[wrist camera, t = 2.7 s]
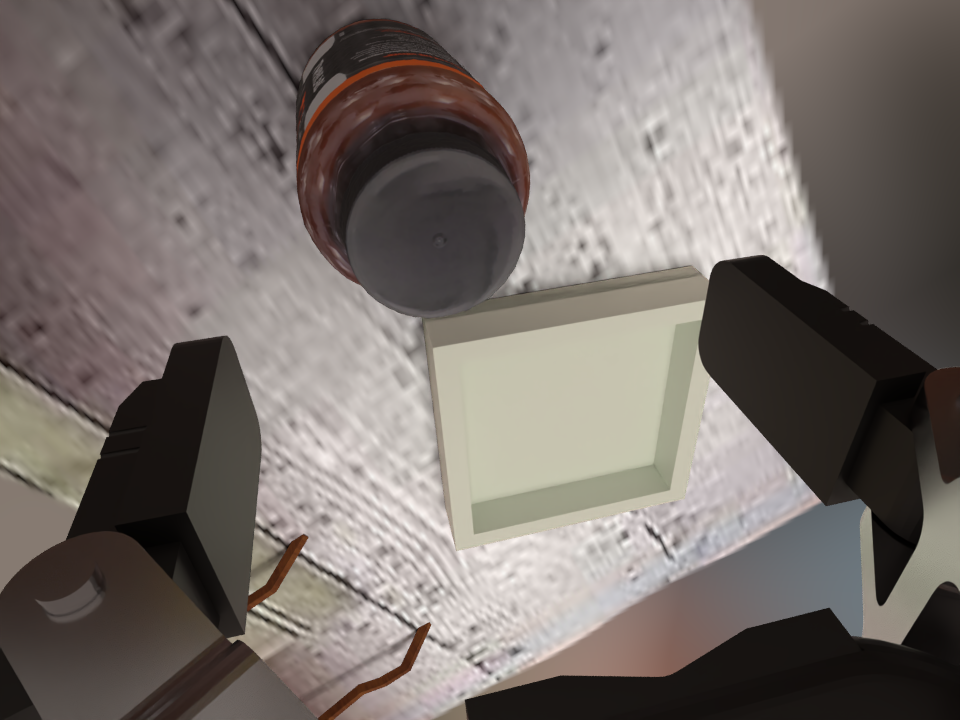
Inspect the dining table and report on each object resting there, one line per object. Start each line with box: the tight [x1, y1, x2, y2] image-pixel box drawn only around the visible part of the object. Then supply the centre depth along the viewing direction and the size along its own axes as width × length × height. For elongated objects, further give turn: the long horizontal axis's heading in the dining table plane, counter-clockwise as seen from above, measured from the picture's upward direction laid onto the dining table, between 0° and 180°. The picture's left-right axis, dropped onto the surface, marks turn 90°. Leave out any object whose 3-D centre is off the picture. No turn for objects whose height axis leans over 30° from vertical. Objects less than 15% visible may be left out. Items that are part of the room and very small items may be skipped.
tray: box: [422, 266, 710, 551], centre depth 31 cm, size 13×13×3 cm
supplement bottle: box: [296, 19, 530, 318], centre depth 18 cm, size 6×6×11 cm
